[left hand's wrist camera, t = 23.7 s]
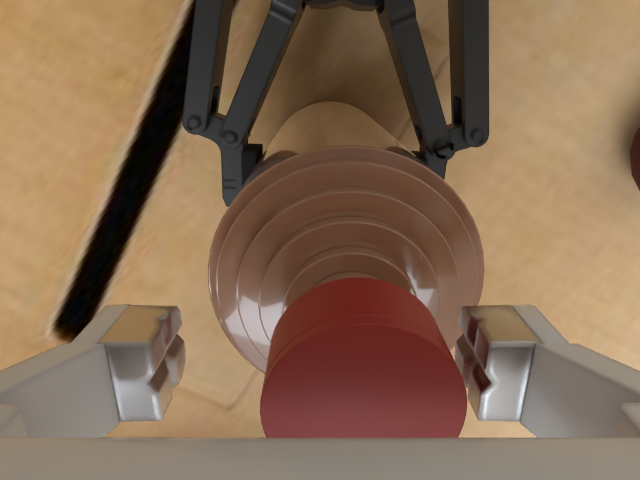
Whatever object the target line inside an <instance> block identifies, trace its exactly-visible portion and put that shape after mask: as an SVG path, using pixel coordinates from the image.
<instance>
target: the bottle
mask: <svg viewBox="0 0 640 480" xmlns="http://www.w3.org/2000/svg"><path fill="white" fill-rule="evenodd" d="M356 277H360V278H372V279H378V280H383V281H386V282H389V283H392V284H395V285H397V286H399V287H401V288H404V289H405V290H407V291H408V292H410V293H412V294H413V295H414V296H416V297H417V298H418V299H419V300H420V301H421V302H422V303H423V304H424V305H425V306H426V307H427V308H428V309H429V311H430V312H431V314H432V315H433V317H434V319H435V321H436V323H437V325H438V327H439V329H440V332H441V334H442V336H443V338H444V340H445V342H446V344H447V346H448V348H449V350H450V351H451V350H452V348H453V347H454V346H455V345H456V341H457V340H458V339H459V338H460V336H461V335H462V334H463V332H462V330H461V328H460V326H459V325H458V321H459V314H460V311H461V308H462V307H464V306H478V304H479V301H480V296H481V292H482V287H483V279H484V256H483V249H482V244H481V239H480V235H479V233H478V230H477V227H476V225H475V222H474V219H473V218H472V216H471V214H470V212H469V210H468V209H467V207H466V205H465V204H464V202H463V201H462V200H461V198H460V197H459V196H458V194H457V193H456V192H455V191H454V190H453V189H452V188H451V187H450V186H449V185H448V184H447V183H446V182H445V181H444V180H443V179H442V178H441V177H440V176H439V175H438V174H436V173H435V172H434V171H433V170H432V169H431V168H429V167H428V166H427V165H426V164H425V163H423V162H422V161H421V160H420V159H419V158H418V157H416V156H415V155H414V154H413V153H412V152H411V151H409V150H408V149H407V148H406V147H405V146H404V145H402V144H401V143H400V142H399V141H398V140H397V139H395V138H394V137H393V136H392V135H391V134H390V133H388V132H387V131H386V130H385V129H384V128H383V127H381V126H380V125H379V124H378V123H377V122H376V121H374V120H373V119H372V118H371V117H370V116H369V115H367V114H366V113H364V112H363V111H362V110H360V109H358V108H356V107H354V106H352V105H349V104H346V103H341V102H333V101H327V102H319V103H314V104H311V105H308V106H306V107H304V108H302V109H300V110H298V111H297V112H295V113H294V114H293V115H292V116H290V117H289V118H288V119H287V120H286V121H285V123H284V124H283V125H282V126H281V128H280V129H279V131H278V132H277V134H276V135H275V137H274V138H273V140H272V142H271V143H270V145H269V146H268V148H267V149H266V151H265V152H264V154H263V155H262V157H261V158H260V160H259V162H258V163H257V165H256V166H255V168H254V169H253V171H252V172H251V174H250V175H249V177H248V178H247V180H246V181H245V183H244V185H243V186H242V188H241V189H240V191H239V192H238V194H237V195H236V197H235V198H234V200H233V201H232V203H231V205H230V206H229V208H228V209H227V211H226V212H225V214H224V216H223V217H222V219H221V221H220V224H219V226H218V228H217V230H216V232H215V235H214V239H213V242H212V246H211V249H210V256H209V263H208V285H209V291H210V297H211V301H212V305H213V308H214V311H215V314H216V317H217V319H218V321H219V323H220V325H221V327H222V329H223V331H224V333H225V334H226V336H227V337H228V339H229V340H230V342H231V343H232V344H233V346H234V347H235V348H236V349H237V350H238V352H239V353H240V354H241V355H242V356H243V357H244V358H245V359H246V360H247V361H249V362H250V363H251V364H252V365H253V366H254V367H256V368H257V369H259V370H260V371H261V372H263V373H264V374H265V372H266V367H267V361H268V355H269V349H270V344H271V338H272V335H273V332H274V329H275V326H276V324H277V323H278V321H279V319H280V317H281V316H282V314H283V313H284V312H285V310H286V309H287V308H288V307H289V306H290V305H291V304H292V303H293V302H294V301H295V300H296V299H298V298H299V297H300V296H301V295H303V294H304V293H306V292H308V291H309V290H311V289H313V288H315V287H317V286H319V285H322V284H324V283H327V282H330V281H334V280H339V279H344V278H356Z"/></svg>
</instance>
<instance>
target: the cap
mask: <svg viewBox="0 0 640 480" xmlns="http://www.w3.org/2000/svg"><path fill="white" fill-rule="evenodd" d="M466 411H467V395H466V388H465V385H464V381H463V378H462V376H461V374H460V372H459V369H458V367H457V365H456V363H455V361H454V359H453V357H452V355H451V353H450V350H449V348H448V346H447V344H446V342H445V340H444V338H443V336H442V334H441V332H440V329H439V327H438V325H437V323H436V321H435V319H434V317H433V315H432V314H431V312H430V311H429V309H428V308H427V307H426V306H425V305H424V304H423V303H422V302H421V301H420V300H419V299H418V298H417V297H416V296H414V295H413V294H412V293H410V292H408V291H407V290H405V289H404V288H401V287H399V286H397V285H395V284H392V283H389V282H386V281H383V280H378V279H372V278H360V277H356V278H344V279H339V280H334V281H330V282H327V283H324V284H322V285H319V286H317V287H315V288H313V289H311V290H309V291H308V292H306V293H304V294H303V295H301V296H300V297H299V298H298V299H296V300H295V301H294V302H293V303H292V304H291V305H290V306H289V307H288V308H287V309H286V310H285V312H284V313H283V314H282V316H281V317H280V319H279V321H278V323H277V324H276V326H275V329H274V332H273V335H272V338H271V344H270V349H269V355H268V361H267V367H266V372H265V378H264V384H263V390H262V396H261V402H260V415H261V422H262V426H263V429H264V432H265V435H266V437H267V438H458V436H459V434H460V432H461V430H462V427H463V425H464V421H465V416H466Z"/></svg>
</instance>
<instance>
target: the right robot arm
mask: <svg viewBox="0 0 640 480" xmlns="http://www.w3.org/2000/svg"><path fill="white" fill-rule="evenodd" d="M233 1H234V0H196V6H195V14H194V23H193V32H192V40H191V49H190V58H189V66H188V75H187V84H186V92H185V101H184V110H183V119H182V122H183V126H184V128H185V130H186V131H187V132H188V133H191V134H196V135H201V136H203V137H206V138H208V139H211V140H212V141H214V142H215V143H216V144H217V145H218V146H219V148H220V150H221V162H222V186H223V187H222V192H223V199H224V202H225V204H226V206H230V205H231V203H232V201H233V200H234V198H235V197H236V195H237V194H238V192H239V191H240V189H241V188H242V186H243V185H244V183H245V181H246V180H247V178H248V177H249V175H250V174H251V172H252V171H253V169H254V168H255V166H256V165H257V163H258V162H259V160H260V158H261V157H262V155H263V144H248V138H249V136H250V135H251V134H250V132H251V130H252V128H253V125H254V123H255V121H256V118H257V116H258V114H259V111H260V109H261V107H262V105H263V102H264V100H265V98H266V95H267V93H268V91H269V88H270V86H271V84H272V82H273V79H274V77H275V75H276V72H277V70H278V68H279V65H280V63H281V61H282V59H283V56H284V54H285V52H286V49H287V47H288V45H289V42H290V40H291V38H292V36H293V33H294V31H295V29H296V27H297V25H298V23H299V21H300V19H301V17H302V15H303V12H304V10H305V8H306V5H308V6H310V7H311V8H313V9H328V8H332V7H336V6H341V5H342V6H345V7H348V8H351V9H354V10H357V11H373V9H376V12H377V15H378V18H379V22H380V25H381V27H382V29H383V31H384V33H385V36H386V39H387V42H388V46H389V49H390V52H391V55H392V58H393V62H394V65H395V68H396V71H397V75H398V78H399V81H400V84H401V87H402V91H403V94H404V97H405V100H406V103H407V107H408V110H409V113H410V116H411V119H412V123H413V126H414V129H415V132H416V135H417V139H418V142H419V145H420V150H419V152H418V151H411V152H412V153H413V154H414V155H415V156H416V157H418V158H419V159H420V160H421V161H422V162H423V163H425V164H426V165H427V166H428V167H429V168H431V169H432V170H433V171H434V172H435V173H436V174H438V175H439V176H440V177H441V178H442V179H443V180H444V178H445V171H446V164H447V161H448V160H449V159H450V158H452V156H453V155H454V154H455V152H456V151H459V150H462V149H465V148H468V147H479V146H482V145H483V144H484V143H486V141H487V139H488V136H489V0H448V15H449V47H450V79H451V111H452V124H449V125H446V122H445V118H444V115H443V111H442V108H441V104H440V101H439V97H438V94H437V90H436V87H435V83H434V80H433V76H432V73H431V69H430V66H429V62H428V59H427V55H426V52H425V48H424V45H423V41H422V38H421V34H420V31H419V27H418V24H417V20H416V10H415V5H414V1H413V0H272V2H271V6H270V10H269V13H268V15H267V18H266V20H265V23H264V25H263V27H262V30H261V32H260V35H259V37H258V40H257V42H256V45H255V47H254V49H253V52H252V54H251V57H250V59H249V62H248V64H247V66H246V69H245V71H244V74H243V76H242V79H241V81H240V83H239V86H238V88H237V91H236V93H235V96H234V98H233V101H232V103H231V105H230V108H229V110H228V113H227V115H226V116H225V115H222V114H220V113H218V108H219V100H220V93H221V86H222V79H223V72H224V65H225V58H226V51H227V44H228V37H229V30H230V23H231V16H232V8H233Z"/></svg>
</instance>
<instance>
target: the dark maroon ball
mask: <svg viewBox="0 0 640 480" xmlns="http://www.w3.org/2000/svg"><path fill="white" fill-rule="evenodd" d="M630 157H631V170H632V176H633V178H634V180H635V182H636V184H637V186H638V188H639V190H640V128H639V129H638V131H637V132H636V133H635V136H634V140H633V143H632V147H631V150H630Z"/></svg>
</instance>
